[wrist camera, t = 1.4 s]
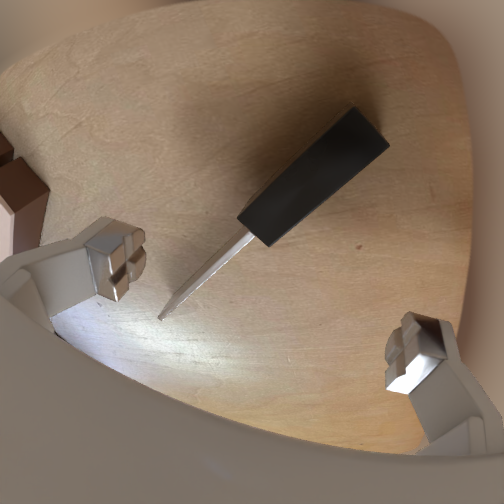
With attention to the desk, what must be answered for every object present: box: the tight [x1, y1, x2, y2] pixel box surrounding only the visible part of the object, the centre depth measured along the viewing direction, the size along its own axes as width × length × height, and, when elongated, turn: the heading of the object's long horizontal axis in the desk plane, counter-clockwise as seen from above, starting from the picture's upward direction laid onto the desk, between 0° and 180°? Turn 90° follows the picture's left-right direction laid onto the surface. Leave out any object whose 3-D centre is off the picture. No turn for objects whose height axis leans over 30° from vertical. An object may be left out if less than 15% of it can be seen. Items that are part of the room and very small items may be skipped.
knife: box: [158, 102, 390, 321], centre depth 20 cm, size 22×3×3 cm, turn 140°
